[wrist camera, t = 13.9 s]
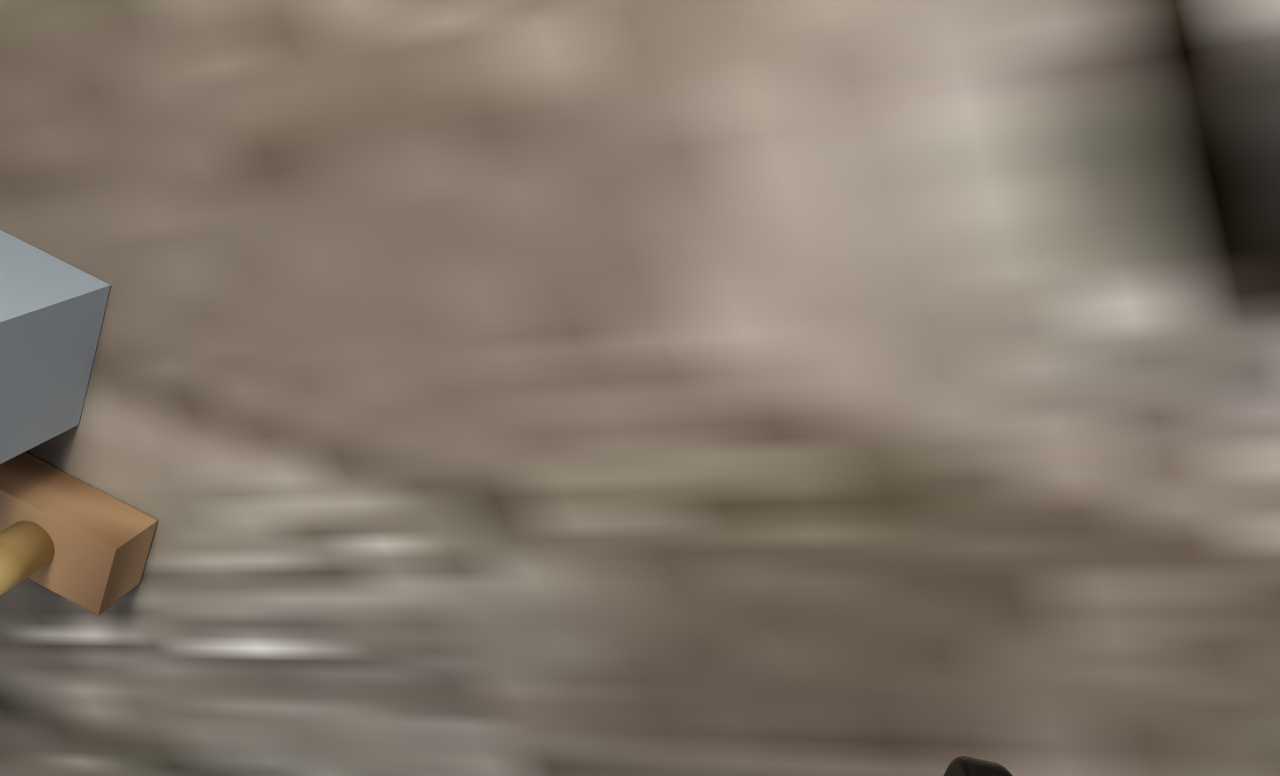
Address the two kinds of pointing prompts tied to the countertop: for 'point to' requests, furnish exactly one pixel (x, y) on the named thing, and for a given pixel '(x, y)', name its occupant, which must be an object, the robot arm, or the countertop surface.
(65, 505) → the wooden knob panel
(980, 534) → the countertop surface
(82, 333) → the grey block
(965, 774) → the robot arm
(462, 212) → the countertop surface
